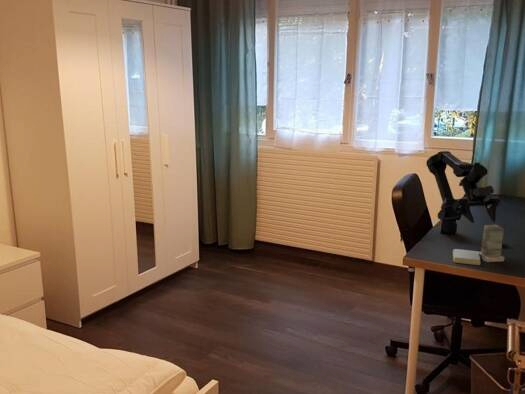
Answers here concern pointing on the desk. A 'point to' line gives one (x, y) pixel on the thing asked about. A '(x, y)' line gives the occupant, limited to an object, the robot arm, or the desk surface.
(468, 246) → the desk surface
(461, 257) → the plate
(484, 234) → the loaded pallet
